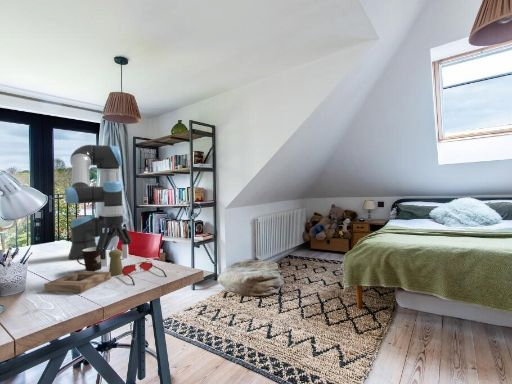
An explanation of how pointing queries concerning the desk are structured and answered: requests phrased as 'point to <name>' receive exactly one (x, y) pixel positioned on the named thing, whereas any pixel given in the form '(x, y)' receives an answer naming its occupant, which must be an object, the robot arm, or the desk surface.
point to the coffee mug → (91, 259)
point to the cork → (115, 262)
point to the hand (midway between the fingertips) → (115, 262)
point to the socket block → (77, 282)
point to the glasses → (143, 265)
